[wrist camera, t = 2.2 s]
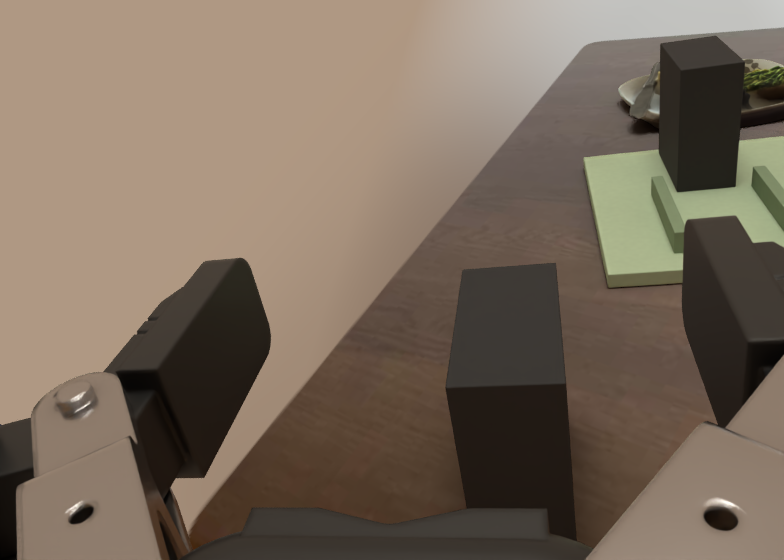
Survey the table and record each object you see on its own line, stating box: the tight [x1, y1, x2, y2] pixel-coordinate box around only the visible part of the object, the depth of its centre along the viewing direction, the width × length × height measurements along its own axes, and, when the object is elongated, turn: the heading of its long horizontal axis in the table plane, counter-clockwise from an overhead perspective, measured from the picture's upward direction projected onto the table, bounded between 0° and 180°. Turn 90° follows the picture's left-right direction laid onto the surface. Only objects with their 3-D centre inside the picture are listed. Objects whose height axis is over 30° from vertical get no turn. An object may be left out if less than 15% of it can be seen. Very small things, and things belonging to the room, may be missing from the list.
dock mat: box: [583, 36, 784, 288], centre depth 47 cm, size 16×20×10 cm
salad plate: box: [618, 59, 784, 128], centre depth 68 cm, size 19×18×5 cm
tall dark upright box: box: [445, 263, 576, 541], centre depth 28 cm, size 4×8×9 cm, turn 171°
